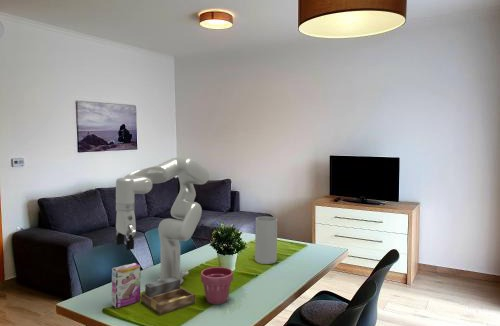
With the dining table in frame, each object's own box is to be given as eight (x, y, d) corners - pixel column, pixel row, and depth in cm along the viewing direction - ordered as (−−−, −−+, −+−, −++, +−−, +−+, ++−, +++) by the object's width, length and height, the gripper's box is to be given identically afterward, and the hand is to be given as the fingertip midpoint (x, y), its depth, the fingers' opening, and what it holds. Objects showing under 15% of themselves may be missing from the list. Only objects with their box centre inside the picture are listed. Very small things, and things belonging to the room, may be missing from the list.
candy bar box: (116, 309, 163) (116, 271, 162) (111, 305, 167) (110, 267, 166) (141, 301, 171) (140, 264, 170) (135, 298, 175) (135, 262, 173)
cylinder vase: (262, 256, 237) (263, 215, 235) (280, 260, 229) (281, 218, 228) (250, 261, 227) (251, 219, 225) (268, 266, 219) (269, 222, 217)
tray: (175, 292, 182) (175, 275, 181) (195, 303, 170) (195, 285, 169) (141, 302, 170) (141, 284, 170) (159, 315, 158) (159, 296, 158)
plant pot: (203, 292, 181) (203, 265, 181) (233, 293, 181) (234, 266, 180) (198, 306, 167) (198, 277, 166) (231, 307, 167) (231, 278, 166)
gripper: (142, 209, 162) (142, 249, 163) (125, 203, 175) (124, 241, 176) (125, 211, 157) (125, 253, 158) (108, 204, 170) (108, 243, 171)
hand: (125, 246), depth 167 cm, fingers open, 9 cm apart
